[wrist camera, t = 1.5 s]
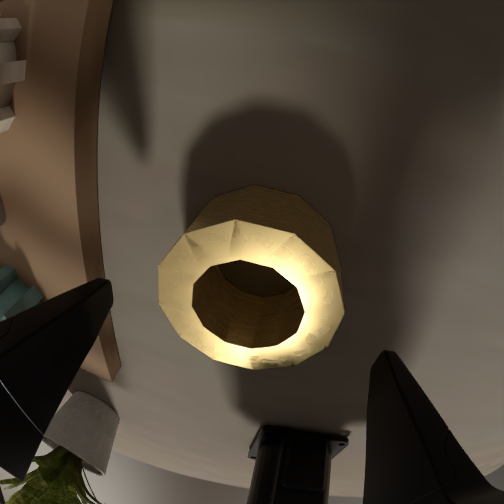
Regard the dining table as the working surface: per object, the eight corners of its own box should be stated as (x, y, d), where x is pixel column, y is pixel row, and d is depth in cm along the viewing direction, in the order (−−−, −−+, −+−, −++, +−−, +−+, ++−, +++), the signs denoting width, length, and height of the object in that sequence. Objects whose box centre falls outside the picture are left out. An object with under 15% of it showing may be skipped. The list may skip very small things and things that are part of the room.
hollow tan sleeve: (311, 329, 14) (308, 381, 11) (185, 297, 14) (160, 343, 12) (357, 211, 11) (371, 253, 8) (195, 172, 11) (159, 202, 8)
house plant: (120, 448, 30) (77, 547, 16) (31, 380, 26) (-31, 481, 12) (188, 443, 24) (137, 590, 10) (62, 349, 20) (-34, 508, 6)
